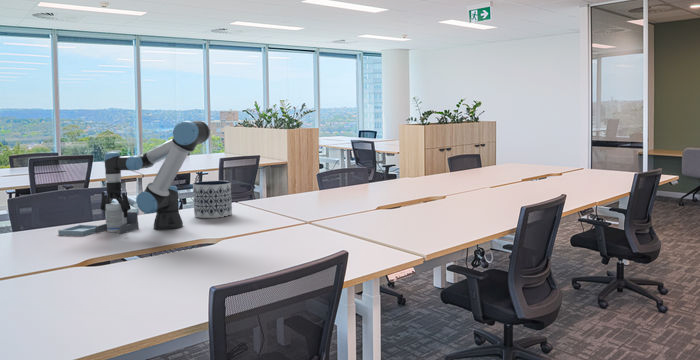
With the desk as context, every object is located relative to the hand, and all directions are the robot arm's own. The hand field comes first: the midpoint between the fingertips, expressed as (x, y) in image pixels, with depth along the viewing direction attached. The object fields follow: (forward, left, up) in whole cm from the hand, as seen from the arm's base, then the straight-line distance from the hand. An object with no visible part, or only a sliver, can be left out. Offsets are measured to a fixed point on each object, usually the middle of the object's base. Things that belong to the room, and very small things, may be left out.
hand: (116, 223), depth 284 cm
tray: (+16, +7, -4) cm, 18 cm away
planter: (-29, -51, -4) cm, 59 cm away
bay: (0, 0, -4) cm, 4 cm away
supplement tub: (0, 0, -4) cm, 4 cm away
